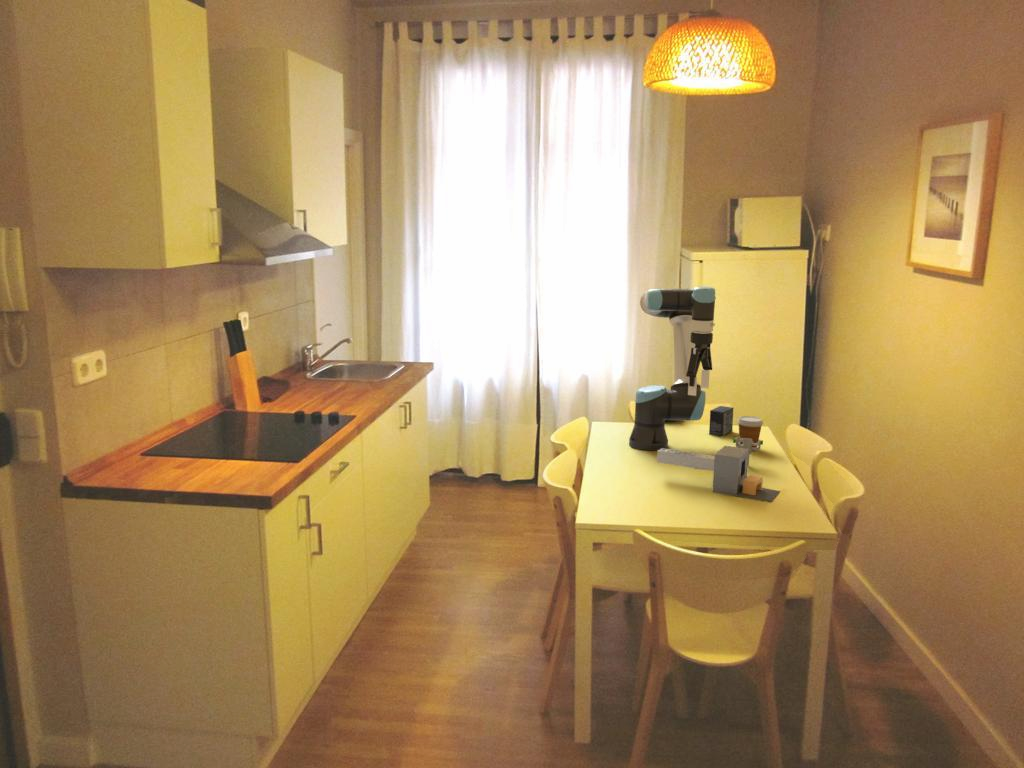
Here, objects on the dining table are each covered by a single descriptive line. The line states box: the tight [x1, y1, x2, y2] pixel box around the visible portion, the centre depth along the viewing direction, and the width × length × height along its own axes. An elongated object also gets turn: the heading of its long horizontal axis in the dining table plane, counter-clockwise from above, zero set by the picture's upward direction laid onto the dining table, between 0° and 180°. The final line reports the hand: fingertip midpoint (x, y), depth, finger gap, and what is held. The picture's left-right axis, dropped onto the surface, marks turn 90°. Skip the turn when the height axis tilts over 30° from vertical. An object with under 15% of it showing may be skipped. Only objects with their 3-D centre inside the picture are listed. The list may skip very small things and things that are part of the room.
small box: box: [708, 405, 734, 437], centre depth 351 cm, size 11×6×10 cm, turn 144°
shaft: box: [656, 448, 715, 472], centre depth 285 cm, size 26×4×4 cm, turn 61°
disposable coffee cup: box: [737, 415, 764, 452], centre depth 328 cm, size 10×10×12 cm
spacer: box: [743, 474, 764, 495], centre depth 278 cm, size 4×7×4 cm, turn 145°
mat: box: [737, 487, 781, 503], centre depth 276 cm, size 12×12×1 cm
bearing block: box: [712, 445, 749, 498], centre depth 280 cm, size 8×12×13 cm, turn 151°
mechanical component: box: [732, 436, 764, 466], centre depth 306 cm, size 3×10×10 cm, turn 78°
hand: (698, 391), depth 299 cm, fingers open, 13 cm apart
